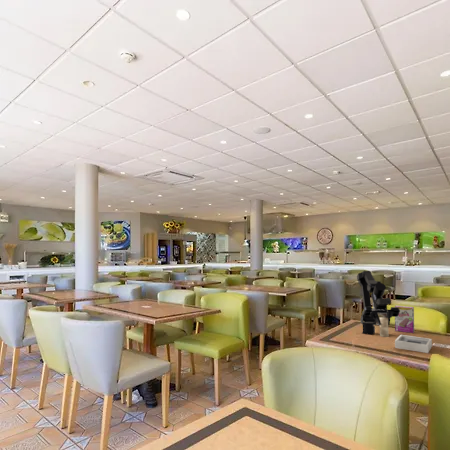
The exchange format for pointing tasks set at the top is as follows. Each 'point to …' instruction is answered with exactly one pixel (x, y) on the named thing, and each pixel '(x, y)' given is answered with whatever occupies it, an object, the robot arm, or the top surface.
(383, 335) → the peg
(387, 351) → the top surface
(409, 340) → the bore box
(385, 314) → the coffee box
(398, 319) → the candy bar box
